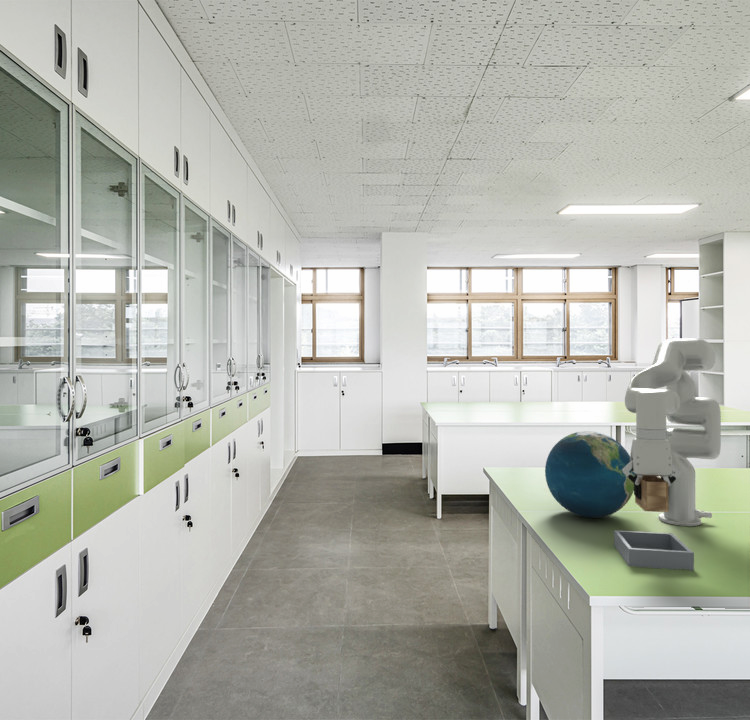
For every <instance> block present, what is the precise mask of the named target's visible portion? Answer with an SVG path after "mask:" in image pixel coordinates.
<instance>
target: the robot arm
mask: <svg viewBox="0 0 750 720" xmlns="http://www.w3.org/2000/svg"><path fill="white" fill-rule="evenodd" d="M653 358H654V359H653V362H652V364H651V366H649V367H647V368H645V369H644V370H642V371H640V372H639V373H637V374H635V375H634V376H633V377H632V378H631V379H630V381H629V383H628V386H627V389H626V391H625V396H624V406H625V408H626V410H627V411H628V412H629V413H632V414H636V415H635V416H636V417H635V419H636V420H635V422H636V424H635V425H636V428H635V429H636V431H635V434H636V435H635V437H634V438H633V439H632V441H631V447H630V454H629V455H630V462H629V463H628V464H627V465H626V466H625V467H624V468H623V469H622V472H623V473H624V474H625V475H626V476H627V477H628V478H629V479H630V480H631V481H632V482H633V483H634V491H633V495H634V497H635V496H636V498H638V499H639V500H641V485H640V482H641V479H642V477H643V476H659V477H660V478H662V479H663V480H665V481H667V482H668V483H669V512H660V513H659V514H658V519H659V520H660V521H661V522H662V523H663V522H664V523H666V524H670V525H674V526H679V527H680V526H682V527H696V526H699V525H702V518H706V519H711V518H712V517H713V514H712V512H711V511H705V510H699V509H697V508H696V501H697V500H696V498H697V497H696V477H697V476H696V469H695V466H693V464H692V463H691V462H690V460H688V458H689V459H701V460H716V459H718V457H719V456H720V455H721V454H720V453H721V446H722V445H721V444H722V443H721V442H722V441H721V440H722V437H721V436H722V435H721V433H722V431H721V430H722V423H721V422H722V421H721V420H722V419H721V418H722V416H721V415H722V414H721V413H722V412H721V406H720V404H719V402H718V400H716V399H714V398H712V397H696V395H695V391H696V389H695V388H696V387H695V386H696V384H695V383H696V382H695V381H694V379H693V378H692V377H691V375H690V374H689V373H688V372H687V371H693V372H694V371H700V372H701V371H710V370H712V369H713V368H714V367H715V365H716V352H715V349H714V347H713V346H712V345H711V344H710V343H709V342H708V341H707V340H704V339H702V338H672V339H666V340H664V341H662V342H661V343H659V345H658V347H657V349H656V352H655V355H654V357H653ZM665 387H666V388H665ZM667 421H668V422H669V423H671V424H676V425H683V426H696V427H697V426H699V427H703V428H704V430H703V429H691V428H678V427H677V428H676V427H673V428H668V429H667ZM630 470H631V471H632V472H634V473H635V475H634V477H633V476H632V475H631V474H630V473H629V471H630Z"/></svg>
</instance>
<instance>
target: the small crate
mask: <svg viewBox="0 0 750 720" xmlns="http://www.w3.org/2000/svg"><path fill="white" fill-rule="evenodd" d="M640 485H641V500H639V499H638V498H636V496H635V495H634V498H635V499H634V502H635V503H634V504H636V505H637V506H639V507H640V508H641V509H642V510H643V511H644V512H656V513H657V512H658V513H664V512H669V483H668V482H667V481H665V480H663V479H662V478H661V477H660V476H643V477H642V479H641V482H640Z"/></svg>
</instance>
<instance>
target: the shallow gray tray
mask: <svg viewBox="0 0 750 720" xmlns="http://www.w3.org/2000/svg"><path fill="white" fill-rule="evenodd" d="M613 546H614V548H615V549H616V550H617V552H618V554H619V555H620V557H622V560H624V562H625V563H626V565H627V566H628V567H630V566H635V567H634V568H646V567H649V569H662V568H665V569H666V570H678V569H686V570H685V571H695V552H694V551H692V549H690V548H689V547H688V546H687V545H686V544H685V543H684V542H682V540H681V539H679V538H678V536H676V535H675V534H674V533H671V532H657V531H655V532H653V531H638V530H636V531H634V530H632V531H631V530H618V529H617V530H616V529H615V530H613ZM687 569H689V570H687Z"/></svg>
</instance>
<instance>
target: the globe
mask: <svg viewBox="0 0 750 720" xmlns="http://www.w3.org/2000/svg"><path fill="white" fill-rule="evenodd" d="M630 455H631V454H630V453H629V452H628V451H627V450H626V449H625V447H624V446H623V445H622V444H621V443H620V442H618V441H617V440H616V439H614V438H613V437H611V436H609V435H607V434H604V433H601V432H598V431H591V430H586V431H585V430H584V431H583V430H582V431H577V432H574V433H573V432H572V433H571V434H568V435H566V436H564V437H563V438H561V439H560V440H558V442H556V443H555V445H553V447H552V448H551V450H550V451H549V453H548V455H547V458H546V462H545V466H544V467H545V468H544V472H545V474H544V476H545V482H546V485H547V487H548V490H549V492H550V494H551V495H552V497H553V498H554V500H555V501H556V502H557V503H558V504H559V505H560V506H561V507H562V508H564V509H565V510H567V511H569V512H570V513H572V514H574V515H576V516H580V517H583V518H590V519H591V518H592V519H597V518H605V517H608V516H610V515H614V514H615V513H617V512H618V511H620V510H621V509H623V508H624V506H626V504H628V502H629V501H630V500H631V497H632V496H633V495H634V483H633V482H632V481H631V480H630V479H629V478H628V477H627V476H626V475H625V474H624V473H623V472H622V469H623V468H624V467H625V466H626V465H627V464H628V463H629V462H630ZM629 473H630V474H631V475H632V476H633V477H634V475H635V473H634V472H632V471H631V470H630V471H629Z"/></svg>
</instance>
